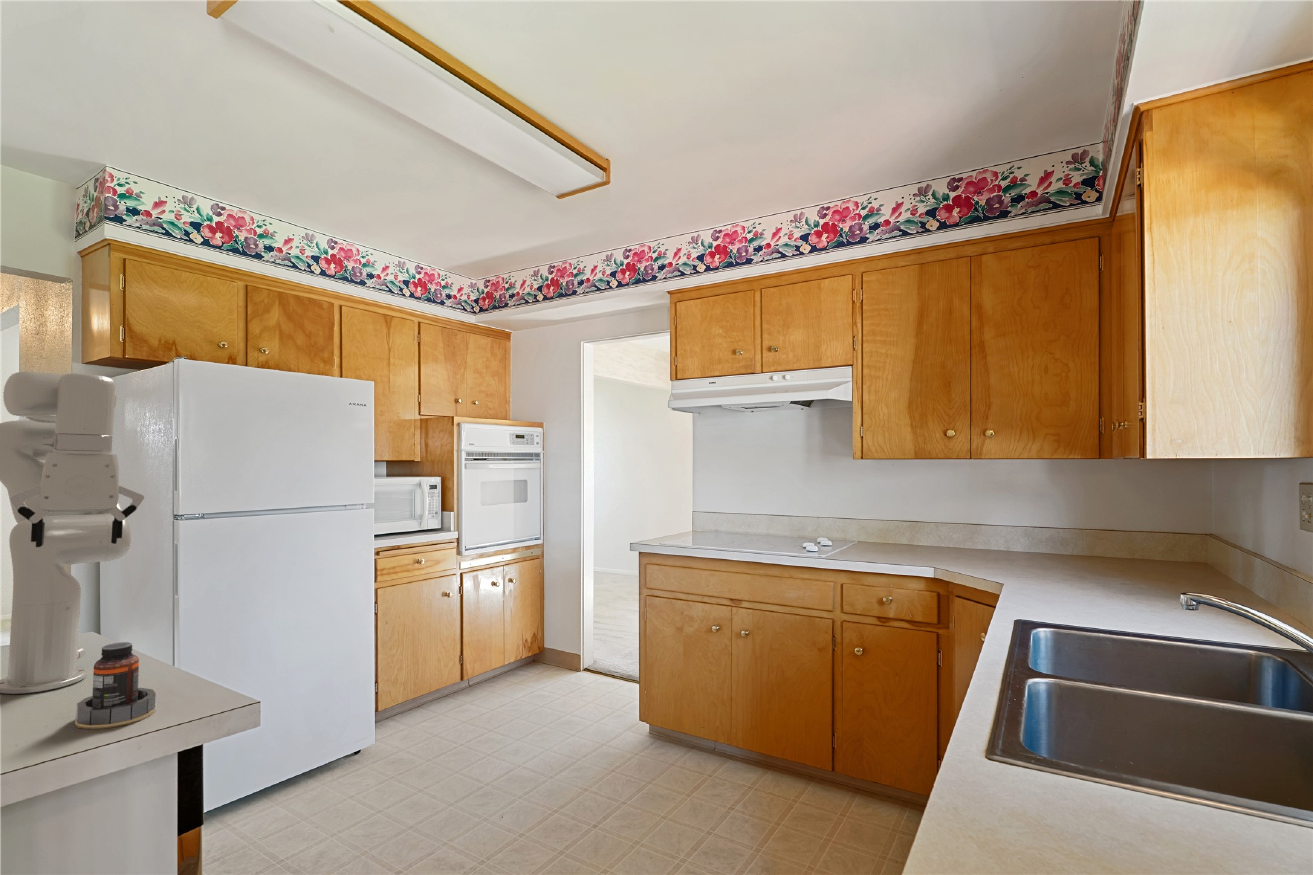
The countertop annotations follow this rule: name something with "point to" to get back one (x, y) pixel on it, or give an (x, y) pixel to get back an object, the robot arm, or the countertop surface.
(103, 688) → the supplement bottle
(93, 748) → the countertop surface
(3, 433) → the robot arm
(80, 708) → the mount collar
